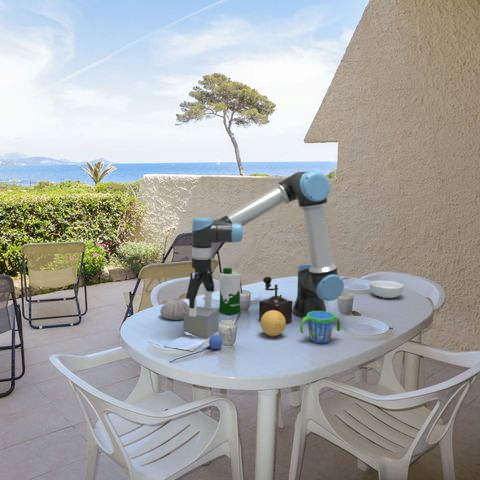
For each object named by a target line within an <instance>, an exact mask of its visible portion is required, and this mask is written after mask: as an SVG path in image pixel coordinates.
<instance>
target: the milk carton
mask: <svg viewBox="0 0 480 480" xmlns="http://www.w3.org/2000/svg"><path fill="white" fill-rule="evenodd" d="M242 276H243V274H241V273H239V272H237V271H233V268H232V267H223V269H222V272H219V273H218V279H219V307H218V309H219V313H222V314H224V315H227V316H232V315H236V314H241V280H242Z"/></svg>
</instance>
